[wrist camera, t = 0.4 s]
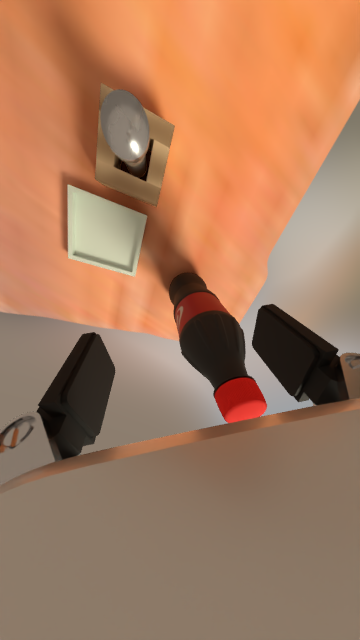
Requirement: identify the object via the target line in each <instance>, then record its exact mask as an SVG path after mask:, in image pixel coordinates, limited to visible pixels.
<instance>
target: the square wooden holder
mask: <svg viewBox="0 0 360 640" xmlns="http://www.w3.org/2000/svg"><path fill="white" fill-rule="evenodd" d="M112 91H114V90H113V89H111V88H109V87H108V86H106V85H104V84H103V83H101V88H100V105H99V121H98V138H97V155H96V172H95V179H96V180H97V181H98V182H100V183H101V184H103V185H104V186H106V187H109V188H111V189H113V190H116V191H118V192H121V193H123V194H125V195H128V196H130V197H133V198H135V199H137V200H140V201H142V202H145V203H147V204H149V205H152V206H154V207H157V204H158V199H159V195H160V190H161V186H162V181H163V177H164V172H165V168H166V163H167V159H168V154H169V149H170V145H171V140H172V136H173V131H174V127H175V126H174V125H173V124H171V123H169V122H167V121H166V120H164V119H162V118H161V117H159V116H157V115H155V114H154V113H152V112H150V111H149V110H147V109H145V108H144V107H143V108H144V110H145V113H146V115H147V119H148V123H149V133H150V141H149V147H148V150H149V151H151V152H152V154H151V159H150V165H149V170H148V176H147V181H144V180H141V179H139V178H137V177H135V176H133V175H130V174H128V173H126V172H124V171H122V170H121V162H122V160H121V159H119V158H118V157H117V156H116V155H115V154H114V153H113V151H112V150H111V148H110V147H109V145H108V143H107V141H106V139H105V137H104V135H103V132H102V128H101V121H100V113H101V107H102V104H103V101H104V99H105V97H106V96H107V95H108V94H109V93H110V92H112Z"/></svg>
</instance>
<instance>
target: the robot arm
mask: <svg viewBox="0 0 360 640" xmlns="http://www.w3.org/2000/svg"><path fill="white" fill-rule="evenodd" d="M252 346H253V348H254V350H255V351H256V352H257V353H258V355H259V356H260V357H261V359H262V360H263V361H264V362H265V364H266V365H267V366H268V368H269V369H270V370H271V371H272V373H273V374H274V375H275V377H276V378H277V379H278V380H279V382H280V383H281V384H282V386H283V387H284V388H285V389H286V390H287V392H288V393H289V394H290V395H291V396H294V397H295V399H296V400H297V401H298V402H302V401H306V400H309V398H310V400H311V401H312V402H313V406H312V407H307V408H302V409H297V410H292V411H287V412H282V413H277V414H273V415H267V416H262V417H257V418H252V419H247V420H242V421H237V422H233V423H228V424H224V425H219V426H213V427H209V428H204V429H199V430H194V431H189V432H185V433H179V434H175V435H170V436H166V437H161V438H156V439H151V440H147V441H142V442H137V443H133V444H128V445H123V446H118V447H114V448H109V449H105V450H101V451H96V452H92V453H88V454H83V455H81V454H80V453H81V450H82V447H83V446H86V445H90V444H94V442H95V438H96V436H97V435H99V433H100V430H101V426H102V422H103V418H104V414H105V410H106V406H107V402H108V399H109V395H110V391H111V387H112V383H113V379H114V375H115V367H114V364H113V362H112V360H111V358H110V356H109V354H108V352H107V349H106V347H105V345H104V343H103V341H102V339H101V337H100V335H99V334H96V333H94V332H93V333H87V334H83V335H82V336H81V337H80V339H79V341H78V342H77V344H76V345H75V347H74V348H73V350H72V352H71V353H70V355H69V356H68V358H67V360H66V361H65V363H64V364H63V366H62V368H61V369H60V371H59V372H58V374H57V376H56V377H55V379H54V380H53V382H52V383H51V385H50V387H49V388H48V390H47V391H46V393H45V395H44V396H43V398H42V399H41V401H40V403H39V404H38V406H39V408H38V410H37V412H34V411H33V412H27V413H24V414H21V415H19V416H18V417H16V418H14V419H13V420H11V421H10V422H8V423H7V424H6V425H5V426H4V427H3V428H2V429H1V430H0V640H360V354H357V353H344V354H342V355H341V356H340V357H339V356H338V355H336V354H337V352H338V349H337V348H335V347H334V346H333V345H331V344H330V343H328V342H327V341H325V340H324V339H323V338H321V337H320V336H318V335H317V334H315V333H314V332H312V331H311V330H310V329H308V328H307V327H305V326H304V325H303V324H301V323H300V322H298V321H297V320H295V319H294V318H293V317H291V316H290V315H288V314H287V313H285V312H284V311H283V310H281V309H279V308H278V307H277V306H275V305H274V304H270V305H264V306H262V307H261V308H260V309H259V310H258V314H257V319H256V325H255V330H254V335H253V340H252Z"/></svg>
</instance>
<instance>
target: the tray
mask: <svg viewBox="0 0 360 640" xmlns="http://www.w3.org/2000/svg"><path fill="white" fill-rule="evenodd" d="M146 221H147V215H144V214H142V213H139V212H137V211H134V210H132V209H129V208H127V207H124V206H122V205H119V204H117V203H114V202H112V201H109V200H107V199H104V198H101V197H99V196H96V195H94V194H91V193H89V192H86V191H84V190H81V189H79V188H76V187H74V186H71V185H69V184H68V258H70V259H73V260H77V261H80V262H84V263H88V264H91V265H95V266H98V267H102V268H106V269H109V270H113V271H116V272H120V273H123V274H127V275H131V276H134V277H135V275H136V270H137V265H138V260H139V255H140V250H141V245H142V240H143V235H144V231H145V226H146Z"/></svg>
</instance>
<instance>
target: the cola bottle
mask: <svg viewBox="0 0 360 640" xmlns="http://www.w3.org/2000/svg"><path fill="white" fill-rule="evenodd" d="M169 296H170V300H171V302H172V303H173V305H174V319H175V322H176V324H177V329H178V334H179V338H180V339H179V341H180V347H181V350H182V352H181V353H182V355H183V356H184V357H185V358H186V359H187V361H188V362H189V363H190V364H191V365H192V366H193V367H194V368H195V369H196V370H198V371H199V372H200V373H201V374H202V375H203V376H205V377H206V378H207V379H208V380H209V381H210V382H211V384H212V386H213V387H214V389H215V390H214V398H215V400H216V403H217V405H218V407H219V410H220V412H221V413H222V416H223V417H224V419H225V421H226V422H228V423H233V422H237V421H242V420H247V419H252V418H257V417H260V416H261V415H262V414H263V413H264V412H265V410H266V408H267V404H266V401H265V399H264V396H263V394H262V392H261V391H260V389H259V387H258V385H257V383H256V381H255V380H254V379H253V378H252V377H250V376H248V374H247V371H246V368H245V363H244V360H245V339H244V333H243V330H242V329H241V327H240V325H239V323H238V322H237V321H236V319H235V318H234V317H233V316H232V315H230V314H229V312H228V311H227V310H226V309H225V308H224V306H223V305H222V304H221V303H220V301H219V299H218V298H217V297H216V295H215V294H213V293H212V292H211V291H209V290H208V289H207V287H206V284H205V282H204V281H203V279H202V278H201V277H199V276H198V275H196V274H193V273H182V274H180V275H178V276H177V277H175V278H174V280H173V281H172V283H171V285H170V288H169Z"/></svg>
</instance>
